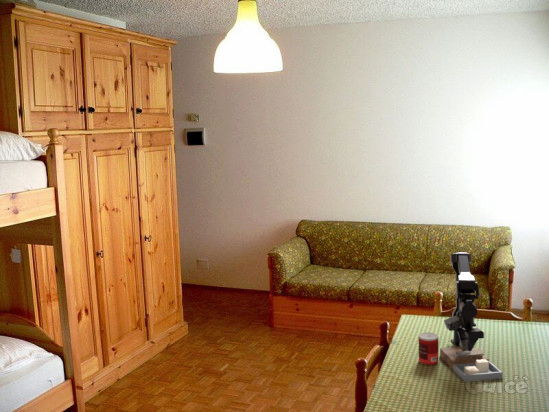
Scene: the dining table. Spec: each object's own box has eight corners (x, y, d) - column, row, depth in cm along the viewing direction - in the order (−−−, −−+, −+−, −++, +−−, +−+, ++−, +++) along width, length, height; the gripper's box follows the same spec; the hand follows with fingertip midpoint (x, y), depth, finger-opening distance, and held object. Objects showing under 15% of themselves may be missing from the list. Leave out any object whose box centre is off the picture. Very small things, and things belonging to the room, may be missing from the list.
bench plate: (440, 356, 241) (440, 348, 240) (472, 353, 242) (472, 345, 242) (454, 370, 227) (454, 362, 226) (488, 367, 228) (488, 359, 228)
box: (452, 370, 227) (453, 364, 226) (489, 367, 228) (489, 361, 228) (463, 382, 217) (464, 375, 217) (502, 378, 219) (502, 372, 218)
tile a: (469, 371, 219) (468, 377, 219) (479, 370, 219) (479, 376, 220) (464, 366, 223) (464, 373, 223) (474, 366, 223) (474, 372, 224)
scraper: (455, 359, 229) (449, 344, 234) (482, 357, 230) (475, 342, 235) (456, 356, 227) (450, 341, 232) (484, 353, 228) (477, 339, 233)
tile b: (475, 360, 225) (478, 362, 223) (485, 359, 225) (488, 361, 223) (475, 369, 226) (478, 372, 223) (485, 369, 226) (488, 371, 224)
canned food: (439, 359, 238) (439, 333, 236) (436, 367, 231) (436, 340, 229) (420, 356, 241) (420, 331, 240) (416, 364, 234) (416, 338, 232)
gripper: (437, 304, 238) (437, 341, 240) (456, 319, 219) (456, 358, 221) (463, 302, 239) (463, 339, 241) (484, 317, 220) (484, 356, 223)
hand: (466, 348), depth 231 cm, fingers open, 6 cm apart
